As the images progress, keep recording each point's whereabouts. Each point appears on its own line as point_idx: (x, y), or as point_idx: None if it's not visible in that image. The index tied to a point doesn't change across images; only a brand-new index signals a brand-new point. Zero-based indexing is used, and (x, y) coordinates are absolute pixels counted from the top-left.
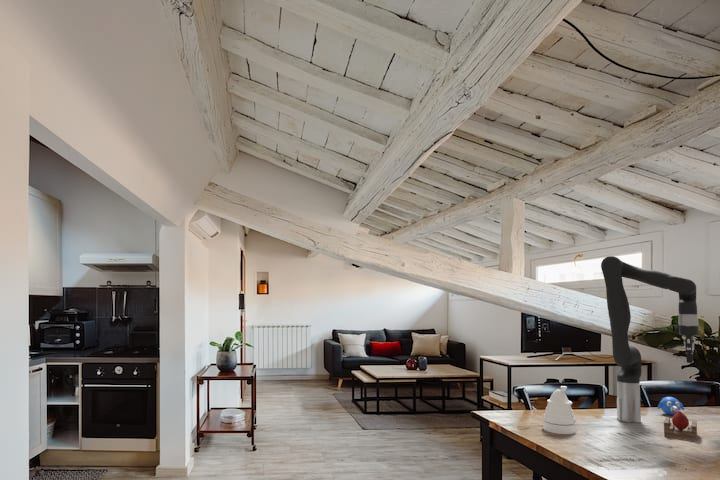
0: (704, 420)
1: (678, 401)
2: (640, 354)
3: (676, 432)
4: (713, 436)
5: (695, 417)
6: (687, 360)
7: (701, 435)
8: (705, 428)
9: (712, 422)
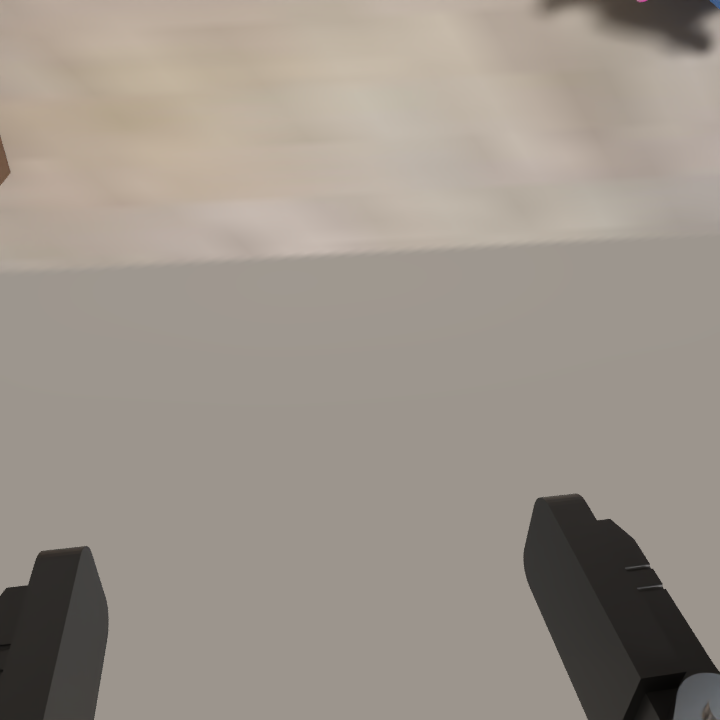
0: (608, 186)
1: None
2: None
3: None
4: (62, 268)
5: (697, 122)
6: (30, 602)
7: (19, 199)
8: (309, 208)
9: (560, 236)
